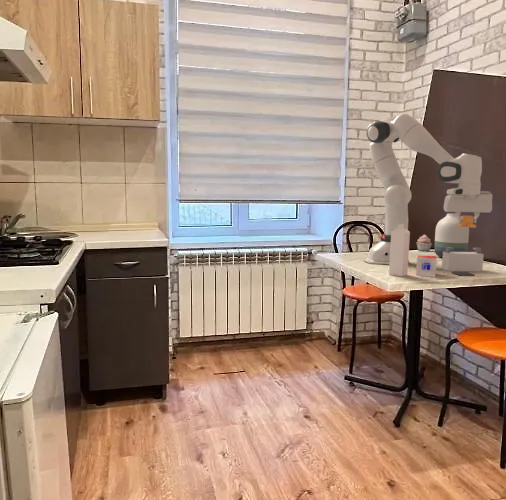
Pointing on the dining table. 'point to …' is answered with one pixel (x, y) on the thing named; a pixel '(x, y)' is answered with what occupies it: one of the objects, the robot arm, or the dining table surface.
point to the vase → (450, 235)
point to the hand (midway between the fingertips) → (466, 222)
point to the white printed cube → (426, 265)
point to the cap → (467, 221)
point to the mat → (463, 273)
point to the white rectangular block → (462, 260)
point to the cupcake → (424, 243)
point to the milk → (399, 251)
